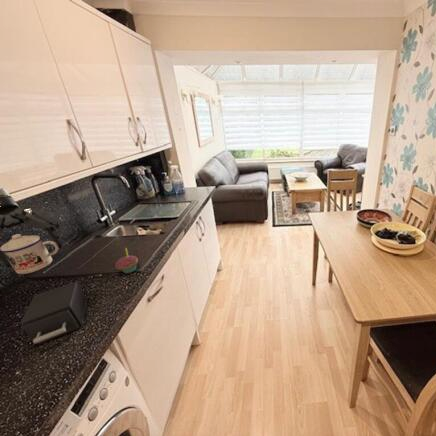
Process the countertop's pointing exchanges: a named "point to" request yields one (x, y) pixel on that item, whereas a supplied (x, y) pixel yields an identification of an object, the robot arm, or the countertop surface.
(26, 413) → the countertop surface
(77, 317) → the cabinet
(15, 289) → the countertop surface
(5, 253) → the teacup with lid
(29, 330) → the drawer
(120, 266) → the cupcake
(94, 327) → the countertop surface
